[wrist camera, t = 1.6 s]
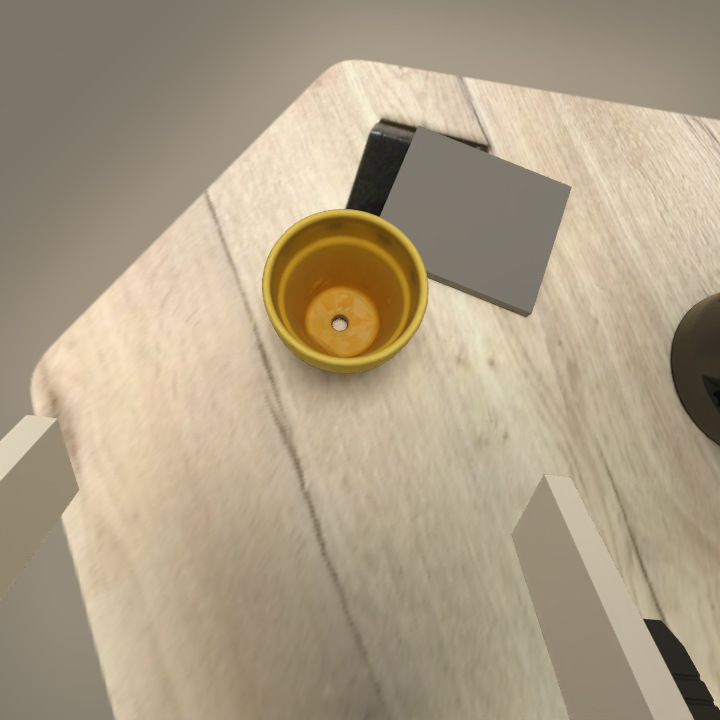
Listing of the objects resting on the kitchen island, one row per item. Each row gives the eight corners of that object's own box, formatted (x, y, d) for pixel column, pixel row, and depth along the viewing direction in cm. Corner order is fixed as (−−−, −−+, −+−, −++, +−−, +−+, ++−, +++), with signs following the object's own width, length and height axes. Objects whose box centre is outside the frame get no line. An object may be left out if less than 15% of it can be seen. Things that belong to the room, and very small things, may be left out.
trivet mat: (565, 193, 40) (571, 187, 39) (526, 316, 38) (531, 313, 37) (416, 133, 40) (418, 125, 39) (365, 252, 38) (366, 247, 37)
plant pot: (295, 402, 35) (284, 385, 25) (265, 283, 36) (244, 225, 27) (417, 369, 36) (451, 341, 26) (382, 256, 38) (402, 191, 28)
